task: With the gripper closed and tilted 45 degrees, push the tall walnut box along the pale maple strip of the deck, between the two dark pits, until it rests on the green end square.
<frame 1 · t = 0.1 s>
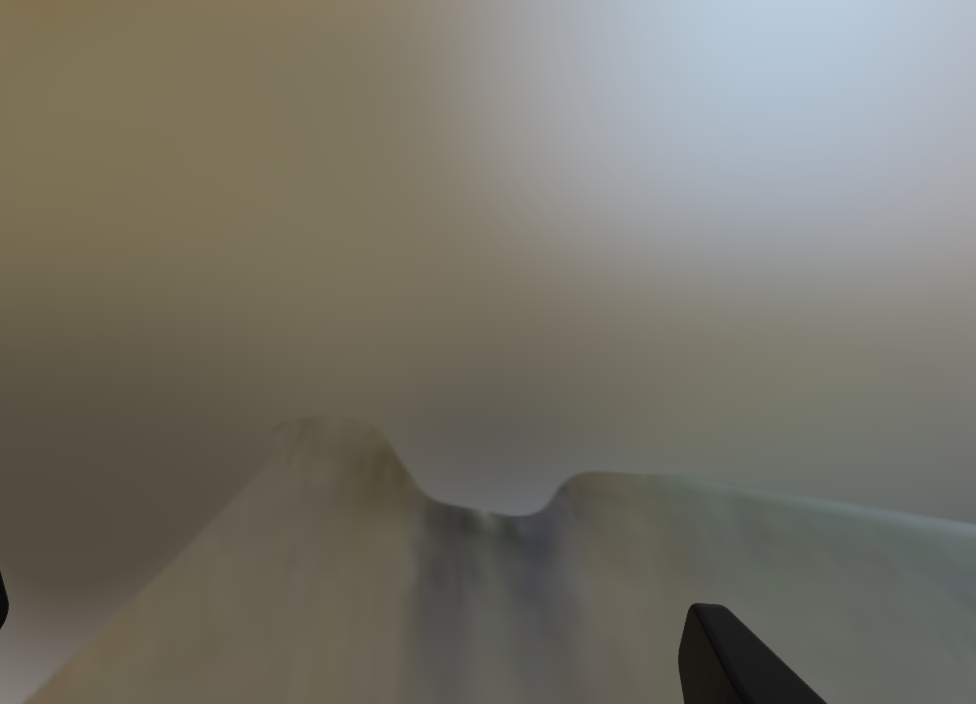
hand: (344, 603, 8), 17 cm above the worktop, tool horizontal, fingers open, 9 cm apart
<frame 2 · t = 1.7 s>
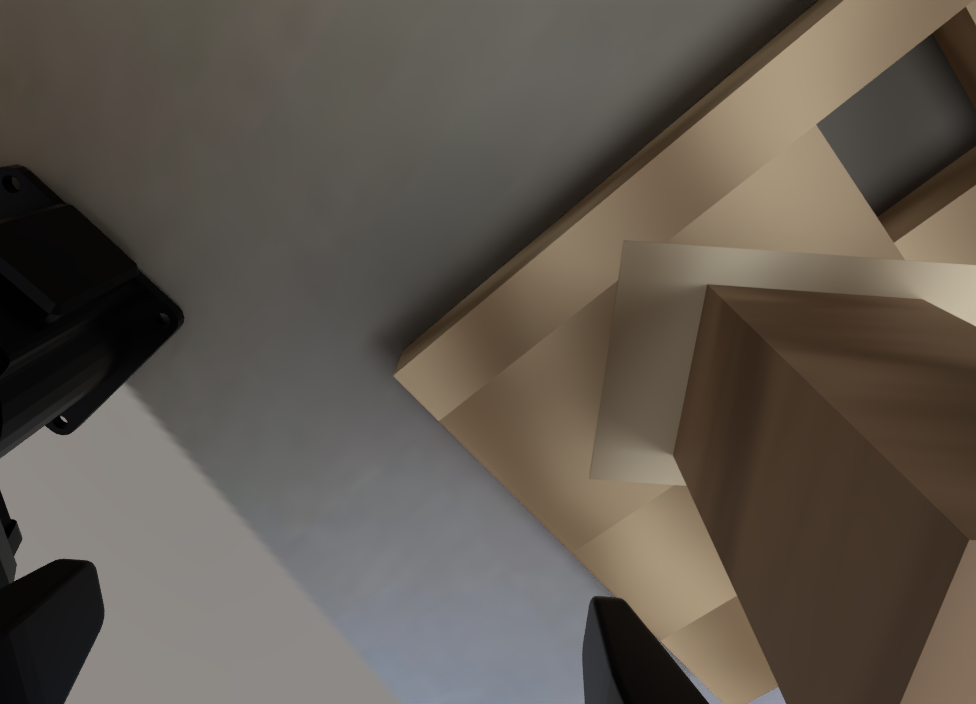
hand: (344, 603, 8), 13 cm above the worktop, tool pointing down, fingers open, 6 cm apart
walnut box: (791, 381, 19), point 2 cm above the worktop, touching deck
deck: (792, 377, 21), on the worktop
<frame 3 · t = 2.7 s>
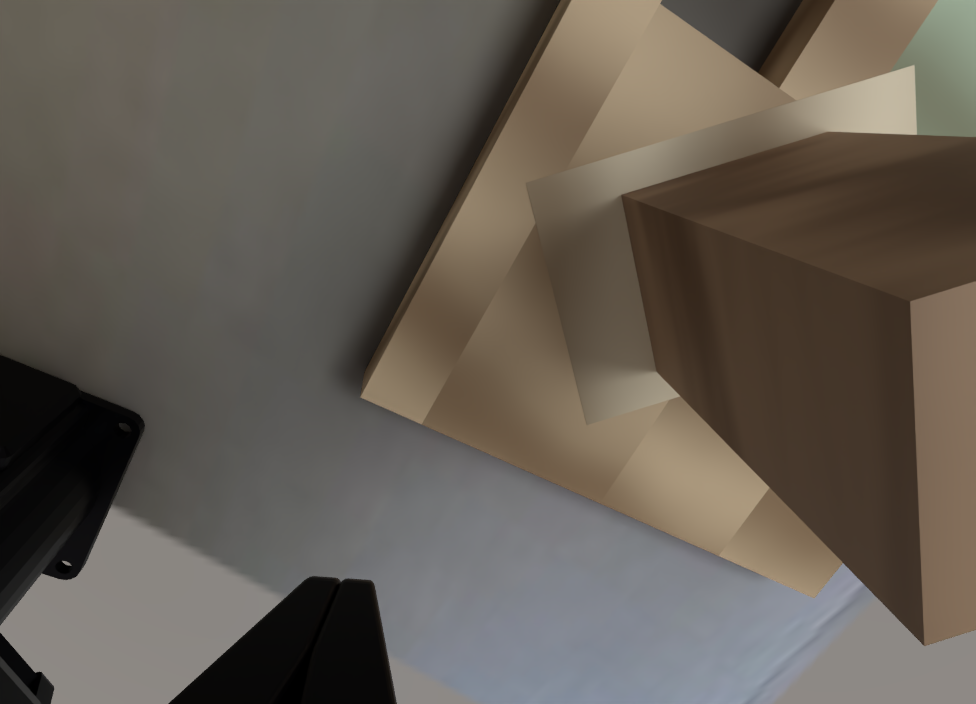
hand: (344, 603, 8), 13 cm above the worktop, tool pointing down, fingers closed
walnut box: (738, 257, 19), point 2 cm above the worktop, touching deck
deck: (742, 256, 21), on the worktop
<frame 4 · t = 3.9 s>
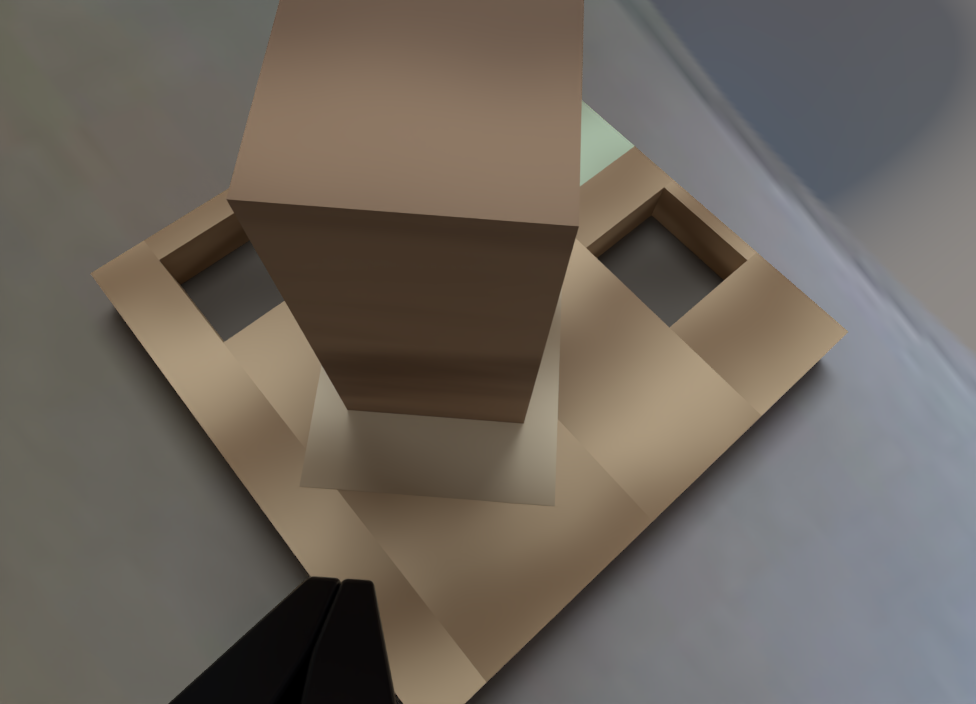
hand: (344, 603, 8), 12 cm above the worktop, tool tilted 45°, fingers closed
walnut box: (444, 329, 21), point 2 cm above the worktop, touching deck
deck: (468, 327, 24), on the worktop
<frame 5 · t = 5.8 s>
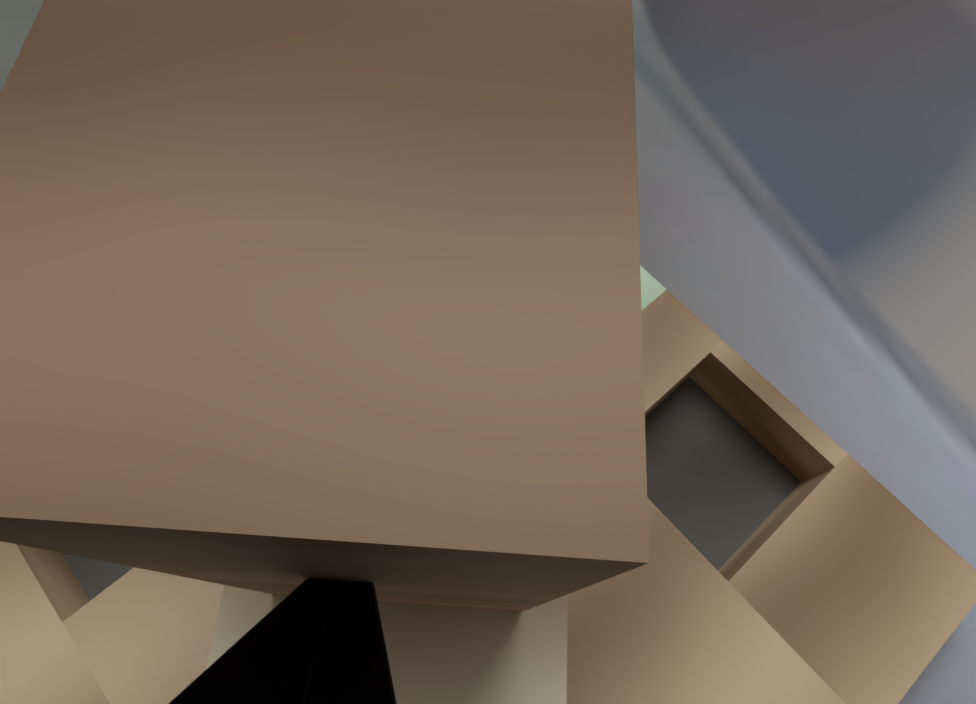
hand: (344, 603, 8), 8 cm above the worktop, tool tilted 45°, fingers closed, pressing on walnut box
walnut box: (412, 468, 16), point 2 cm above the worktop, touching gripper
deck: (436, 554, 17), on the worktop
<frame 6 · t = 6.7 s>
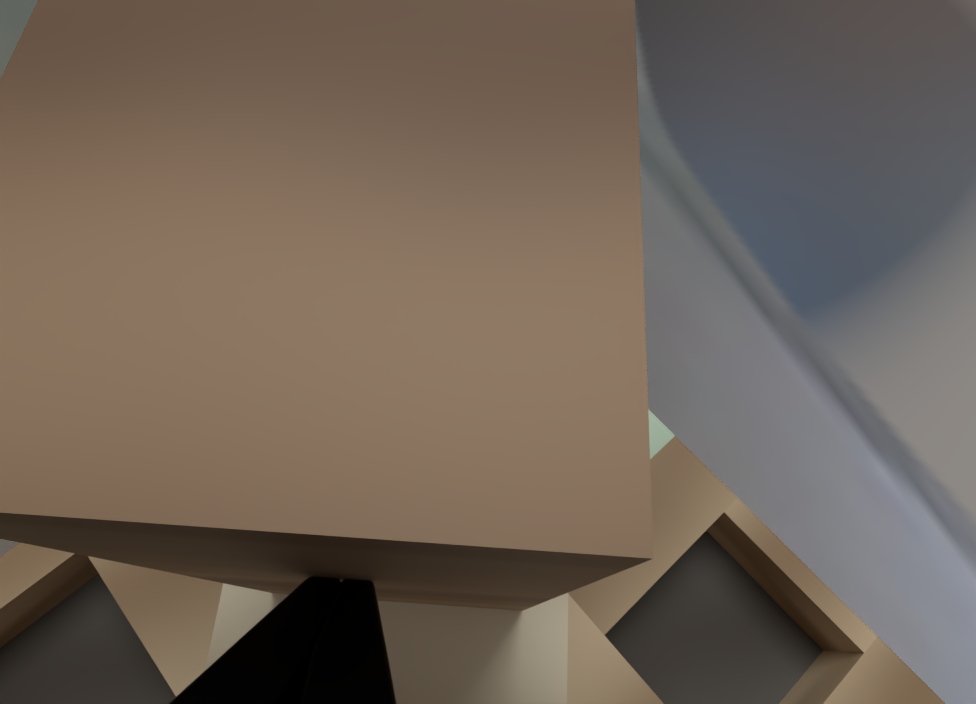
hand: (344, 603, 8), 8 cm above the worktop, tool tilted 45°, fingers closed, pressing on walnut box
walnut box: (412, 466, 15), point 2 cm above the worktop, touching deck, gripper
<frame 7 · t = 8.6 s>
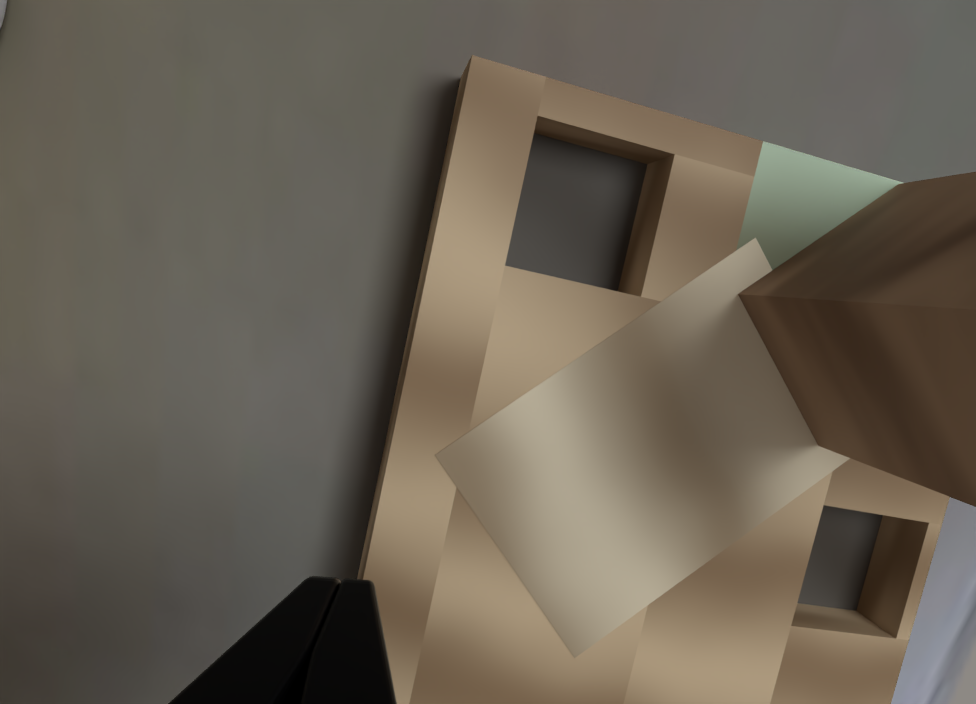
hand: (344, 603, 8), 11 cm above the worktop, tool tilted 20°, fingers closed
walnut box: (857, 316, 20), point 2 cm above the worktop, touching deck
deck: (671, 434, 21), on the worktop
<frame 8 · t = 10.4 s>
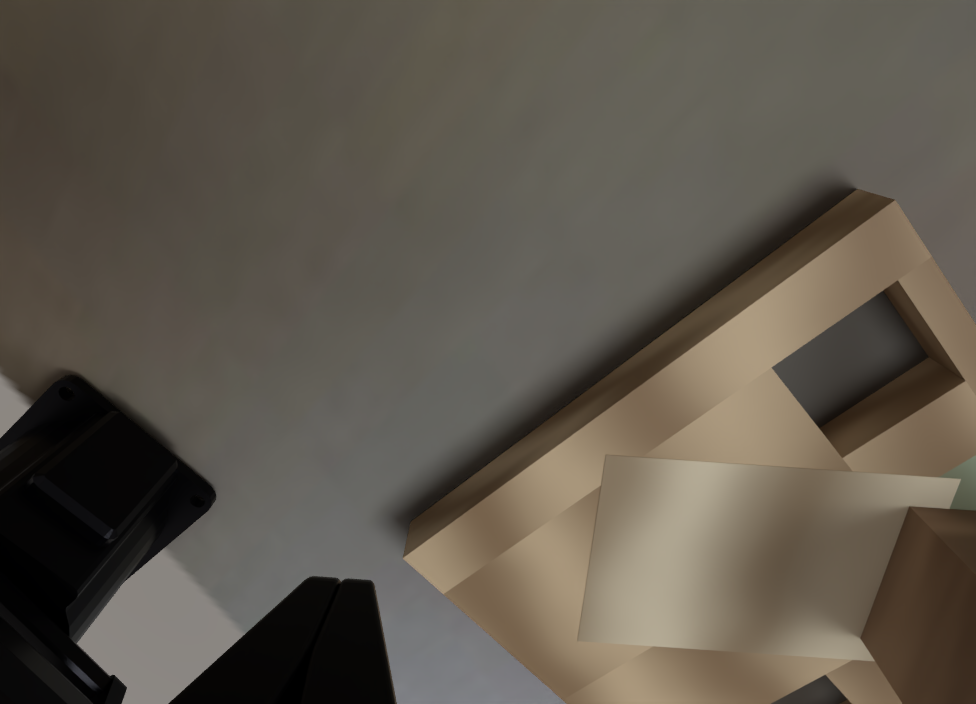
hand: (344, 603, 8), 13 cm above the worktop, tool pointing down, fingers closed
walnut box: (973, 581, 22), point 2 cm above the worktop, touching deck
deck: (760, 545, 24), on the worktop
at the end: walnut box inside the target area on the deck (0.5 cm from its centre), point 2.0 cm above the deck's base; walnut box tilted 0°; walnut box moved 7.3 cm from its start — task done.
